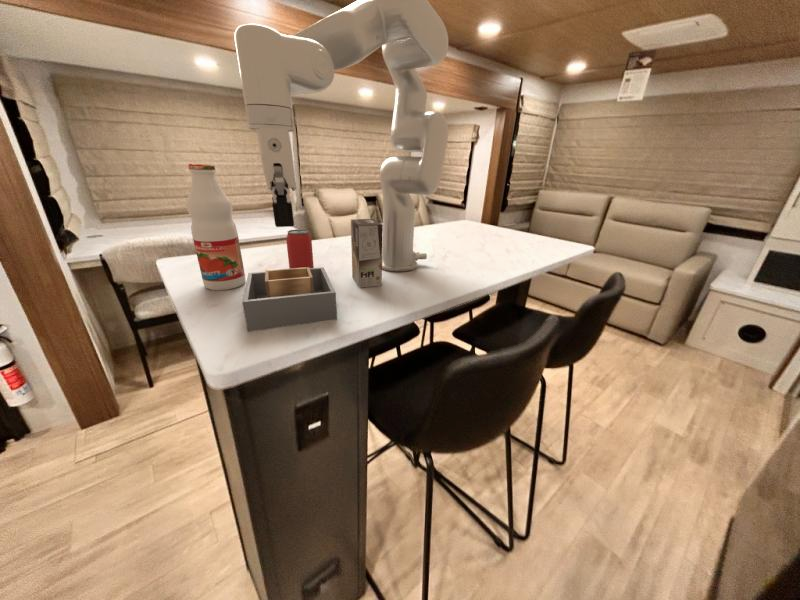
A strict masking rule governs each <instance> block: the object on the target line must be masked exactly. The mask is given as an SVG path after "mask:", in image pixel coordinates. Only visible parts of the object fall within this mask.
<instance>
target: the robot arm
mask: <svg viewBox="0 0 800 600" xmlns="http://www.w3.org/2000/svg"><path fill="white" fill-rule="evenodd" d="M444 23H445V22H444V21H443V20H442V18H441V17H440V16H439V14H438V13H437V11H436V10H435V9H434V7H433V5H432V4H431V3H430V1H428V0H356V1H354V2H352V3H350V4H349V5H347V6H345V7H343V8H341V9H339V10H338V11H335V12H334V13H332V14H329V15H328V16H326V17H324V18H322V19H320V20H318V21H317V22H315V23H313V24H312V25H310V26H308V27H306V28H304V29H301V30H299V31H297V32H296V33H294V34H291V35H287V34H283V33H280V32H279V31H278V30H276V29H274V28H273V27H269V26H268V25H262V24H257V23H246V24H241V25H239V26H237V28H236V30H235V32H234V42H235V43H234V44H235V51H236V56H237V62H238V69H239V74H240V83H241V87H242V88H241V89H242V95H243V101H244V109H245V115H246V120H247V121H246V122H247V125H248V126H247V127H248V129H249V130H254V131H256V136H257V142H258V148H259V154H260V161H261V165H262V171H263V175H264V180H265V183H266V187H267V189H268V190H269V191H270V192H272V193H271V194H272V199H271V200H272V212H273V218H274V219H273V220H274V225H275V227H276V228H284V227H285V228H286V227H288V228H289V227H290V228H291V227H294V226H295V222H294V221H295V220H294V211H293V205H292V204H293V203H291V199H290V191H289V188H290V189H291V190H292V192H295V191H296V190H297V183H296V174H295V167H294V166H295V165H294V159H293V158H294V157H293V148H292V143H291V137H290V133H293V132H296V130H295V128H296V127H295V121H294V118H295V117H294V110H293V109H294V108H293V99H292V96H298V95H306V94H307V95H308V94H309V95H310V94H317V93H321V92H323V91H325V90H327V89H328V88H329V87H330V86H331V85H332V83H333V81H334V77H335V72H336V71H340V70H344V69H347V68H349V67H352V66H355V65H357V64H359V63H360V62H362V61H363V60H365V59H366V58H367V57H368V56H370V55H371V54H373V53H374V52H376V51H377V50H378V49H379V48H381V53H382V57H383V61H384V63H385V66H386V67H387V69H388V72H389V74H390V76H391V79H392V82H393V86H394V92H395V93H394V106H393V112H392V121H391V128H390V143H391V146H392V147H393V149H395V150H396V151H398V152H403V153H421V156H413V155H412V156H411V155H410V156H408V155H398V156H397V155H394V156H390V157H388V158H386V159H385V160H384V161H382V164H381V166H380V169H379V180H380V186H381V193H382V225H383V226H382V270H384V271H388V272H408V271H412V270H415V269H417V266H418V262H417V261H419V260H427V257H428V255H427V253H426V252H421V253H420V252H419V251H418V252H416V251H414V235H415V234H414V233H415V219H416V218H415V217H416V207H415V204H414V201H413V198H412V196H411V194H412V195H422V196H429V195H433V194H434V193H435V192H436V191H437V190H438V189H439V186H440V183H441V179H442V176H443V175H442V173H443V169H444V165H445V164H444V163H445V159H446V158H445V157H446V152H447V145H448V137H449V126H448V122H447V118H446V117H445V116H444V114H443V113H442V112H439V111H435V110H434V111H433V110H431V111H427V109H426V106H427V99H428V93H427V89H426V86H425V84H424V81H423V80H422V78H421V77H420V75H419V73H418V72H417V69H421V68H427V67H433V66H437V65H439V64H441V63H442V62H443V61H444V60H445V59H446V56H447V53H448V49H449V34H448V31H447V28H446V25H445V24H444Z"/></svg>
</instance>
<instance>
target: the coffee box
mask: <svg viewBox="0 0 800 600" xmlns="http://www.w3.org/2000/svg"><path fill="white" fill-rule="evenodd" d="M350 237H351V238H350V240H351V241H350V243H351V268H352V270H351V273H352V277H351V278H352V279H353V280H354V282H355V283H356V284H357V286H358V287H359V288H360V289H361V288H369V287H371V288H372V287H381V286H382V283H383V269H382V243H383V223H380V222H378V221H377V220H375V219H373V218H360V219H359V218H358V219H350Z"/></svg>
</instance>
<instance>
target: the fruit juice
mask: <svg viewBox="0 0 800 600" xmlns="http://www.w3.org/2000/svg"><path fill="white" fill-rule="evenodd" d="M188 169H189V172H190V173H191V185H190V190H189V194H188V196H187V198H186V201H185V207H186V211H187V212H188V214H189V216H190V219H191V224H190V225H191V227H190V230H191V236H192V241H193V245H194V247H195V252H196V253H195V254H196V257H197V261H198V266H199V269H200V274H201V279H202V283H203V285H204V288H206V289H207V290H211V291H226V290H232V289H235V288H240V287H241V286H243V285H244V284H246V274H245V268H244V261H243V257H242V251H241V246H240V240H239V232H238V229H237V225H236V223H235V222H234V219H233V210H234V207H233V205H232V202H231V200H230V198H229V196H228V195H226V194H225V192H224V191H223V189H222V187H221V185H220V183H219V181H218V180H217V177H216V167H215V165H214V164H211V163H210V164H208V163H207V164H206V163H205V164H204V163H188Z"/></svg>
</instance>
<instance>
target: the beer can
mask: <svg viewBox="0 0 800 600" xmlns="http://www.w3.org/2000/svg"><path fill="white" fill-rule="evenodd" d="M285 239H286V240H285V241H286V248H287V249H286V250H287V259H288V267H289V268H288V269H291V268H305V267H309V268H315V267H314V266H315V265H314V253H313V243H312V242H313V240H312V237H311V234H310V231H309V230H307V229H302V228H301V229H296V228H295V229H289V230H287V235H286V238H285Z"/></svg>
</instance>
